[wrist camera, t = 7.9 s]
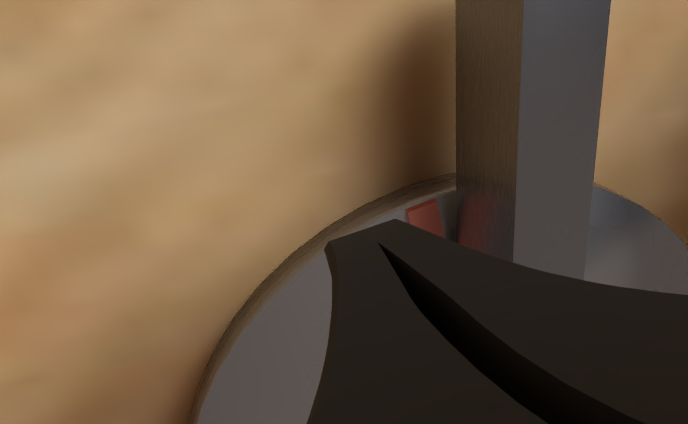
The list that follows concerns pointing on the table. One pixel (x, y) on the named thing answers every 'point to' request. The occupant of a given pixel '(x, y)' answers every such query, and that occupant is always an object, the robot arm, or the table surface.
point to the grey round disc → (316, 299)
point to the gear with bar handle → (528, 128)
